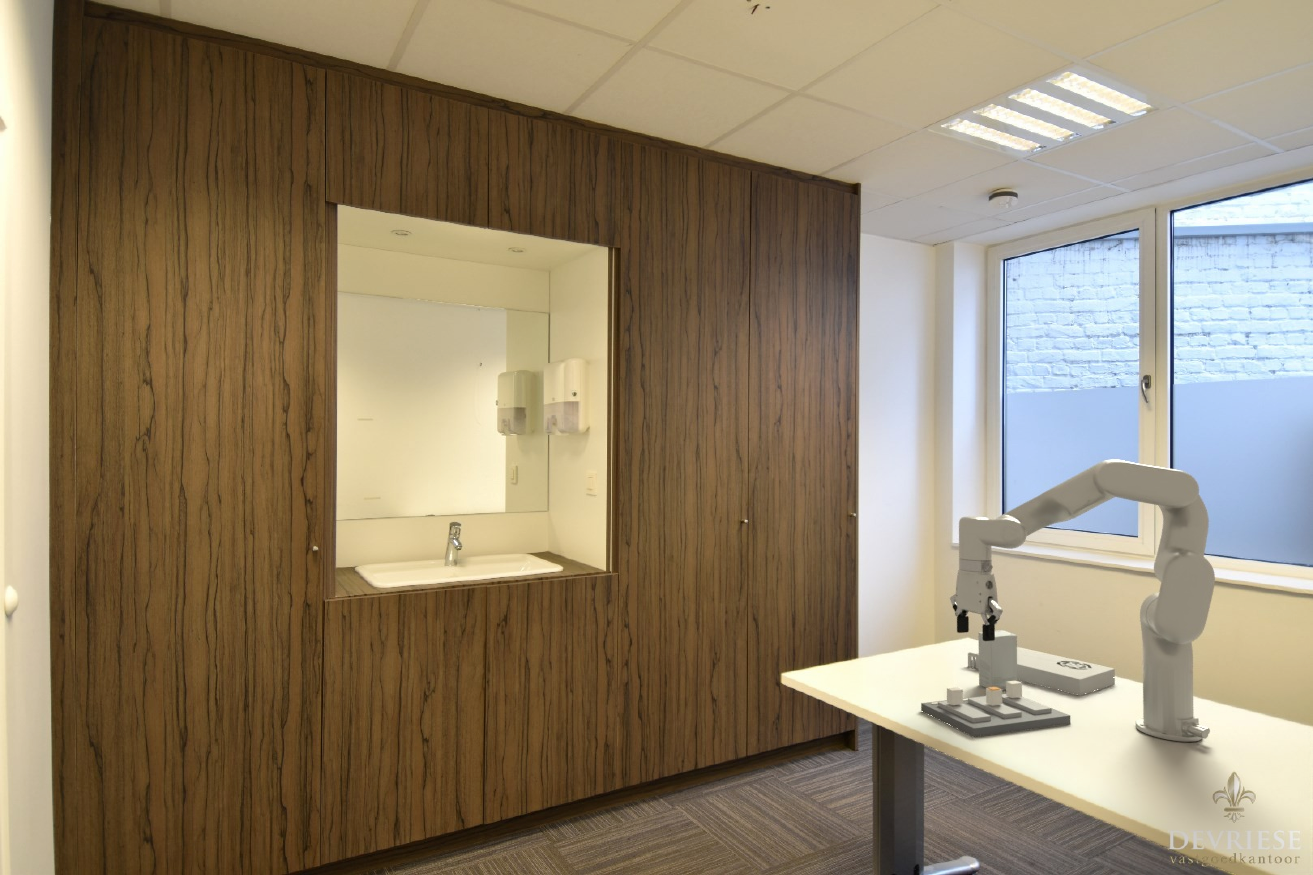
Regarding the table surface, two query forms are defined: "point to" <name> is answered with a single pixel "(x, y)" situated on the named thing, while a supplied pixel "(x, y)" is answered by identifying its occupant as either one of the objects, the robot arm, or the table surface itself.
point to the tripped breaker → (993, 696)
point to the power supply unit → (1057, 671)
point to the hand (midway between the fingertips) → (975, 636)
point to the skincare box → (997, 660)
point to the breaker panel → (995, 715)
